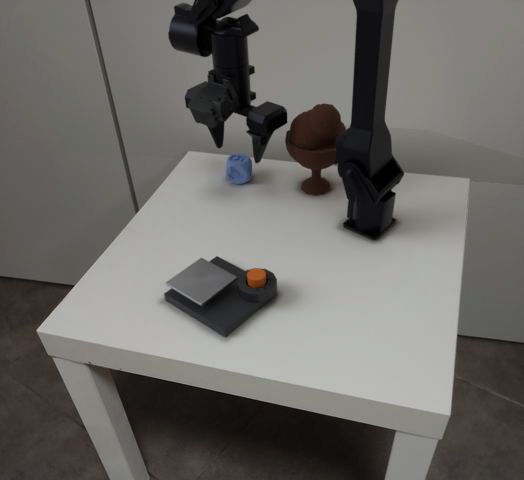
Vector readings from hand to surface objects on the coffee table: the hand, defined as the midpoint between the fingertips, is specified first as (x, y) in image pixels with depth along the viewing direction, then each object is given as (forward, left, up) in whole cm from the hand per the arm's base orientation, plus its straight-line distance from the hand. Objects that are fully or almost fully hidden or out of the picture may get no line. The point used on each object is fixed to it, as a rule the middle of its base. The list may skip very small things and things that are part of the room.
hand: (238, 154), depth 97 cm
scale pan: (-18, +27, -2) cm, 33 cm away
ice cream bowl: (-13, -6, -5) cm, 15 cm away
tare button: (-24, +23, -2) cm, 33 cm away
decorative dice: (0, 0, -5) cm, 5 cm away
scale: (-20, +26, -5) cm, 33 cm away
